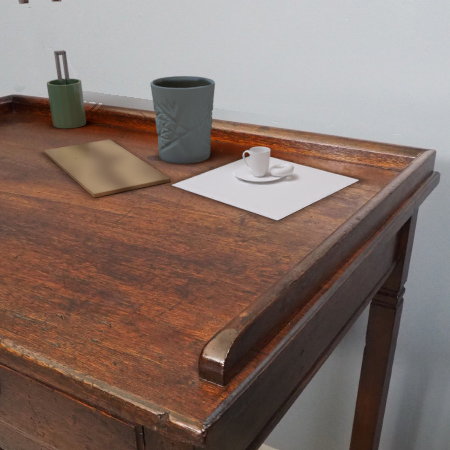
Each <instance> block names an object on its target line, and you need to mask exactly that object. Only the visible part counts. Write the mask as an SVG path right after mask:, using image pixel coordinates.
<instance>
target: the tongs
mask: <svg viewBox="0 0 450 450" xmlns="http://www.w3.org/2000/svg"><path fill="white" fill-rule="evenodd" d="M53 55H54V61H55V69H56V75H57V79H58V83H59V85H63V81H62V79H63V74H64V79H65V81H66V85H70V79H71V78H70V74H69V73H70V71H69V66H68V59H67V58H68V57H67V51H66V50H53ZM60 56H61V58H62V59H61V60H62V67H63V74H62V69H61V68H62V67H61V61H60ZM69 78H70V79H69Z"/></svg>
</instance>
